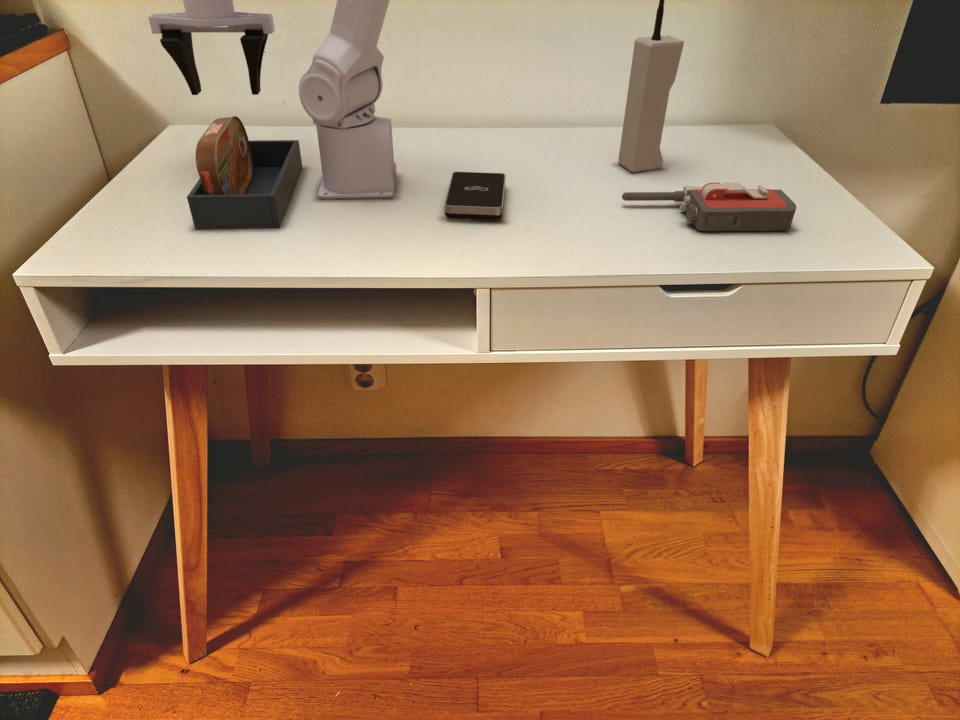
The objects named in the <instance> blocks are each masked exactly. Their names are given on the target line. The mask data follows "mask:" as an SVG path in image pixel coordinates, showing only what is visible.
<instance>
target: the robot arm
mask: <svg viewBox="0 0 960 720" xmlns="http://www.w3.org/2000/svg"><path fill="white" fill-rule="evenodd" d="M390 1H391V0H336V4H335V7H334V12H333V17H332V21H331V26H330V28H329V29H330V30H329V33H328V34H327V36H326V37H325V39H324V40H323V41H322V42H321V44H319V46H318V48H317V49H316V50H315V52H314V54H313V56H312V61H311V64H310V65H309V68H308V69H307V71H305V72H304V74H303V75H302V76H301V78H300V80H299V83H298V96H299V102H300V103H301V105H302V108H303V109H304V111H305V112H306V113H307V115H308V116H309V118H311V119H312V123H313V125H315V126H316V127H315V128H316V136H317V142H318V150H319V157H320V165H321V166H320V167H321V173H322V179H321V182H320V187H319V189H318V192H317V198H318V199H368V198H370V199H374V198H375V199H377V198H378V199H379V198H393V197H394V192H395V191H394V190H395V182H396V181H395V179H396V178H397V163H396V162H395V157H394V140H393V126H392V120H391V118H388V117H379V116H375V113H376V104H375V103H377V101H378V100H379V99H380V97H381V95H382V91H383V76H382V67H383V63H384V60H385V57H384V55H383V53H382V51H381V50H380V49H379V48H378V43H379V39H380V36H381V32H382V30H383V26H384V22H385V18H386V16H387V11H388V8H389V6H390V5H389V4H390ZM182 3H183V8H184V12H169V13H152V14H150V15H149V16H147V17H148V22H149V26H150V30H151V33H152V34H153V35H159V34H160V35H161V38H160V39H159V41H160V44H161V46H162V48H163V49H164V50H165V51H166V52H167V54H168V55H169V56H170V58H171V59H172V60H173V62H174V63H175V64H176V66H177V68H178V69H179V71H180V73H181V74H182V76H183V78H184V80H185V82H186V84H187V86H188V88H189V91H190V93H191V95H192V96H198V95H199V94H200V93H201V92H202V85H201V80H200V76H199V72H198V68H197V64H196V59H195V53H194V52H195V51H194V47H193V33H244V34H243V35H242V36H241V37H240V39H239V41H240V44H241V48H242V50H243V54H244V58H245V62H246V67H247V71H248V78H249V79H248V80H249V87H250V91H251V95H253V96H255V95H256V96H257V95H259V94H260V93H261V74H262V73H261V72H262V63H263V58H264V53H265V48H266V44H267V43H268V38H269V35H270V34H272V35H273V33H275V31H276V29H275V23H274V16H273V13H258V12H243V11H235V7H234V1H233V0H182Z"/></svg>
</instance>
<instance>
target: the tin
mask: <svg viewBox="0 0 960 720" xmlns="http://www.w3.org/2000/svg"><path fill="white" fill-rule="evenodd" d="M249 141H250V140H249V135H248V133H247V130H246V128H245V126H244V123H243V122H242V120H241V119H240V117H238V116H236V115H233V116H231V117H230V116H229V117H218V118H215V119H214V120H213V121H212V122H211V124H210V125H209V126H208V128H207V129H206V130H205V132H204V133H203V134H202V136H201V137H200V138H199V140H198V141H197V144H196V147H195V165H196V166H195V167H196V171H197V174H198V176H199V179H201V183H202V186H203V189H204V192H205V195H226V194H244V193H245V191H246V189H247V187H248V186H249V184H250V182H251V179H252V172H253V164H252V155H251V149H250V144H249Z"/></svg>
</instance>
